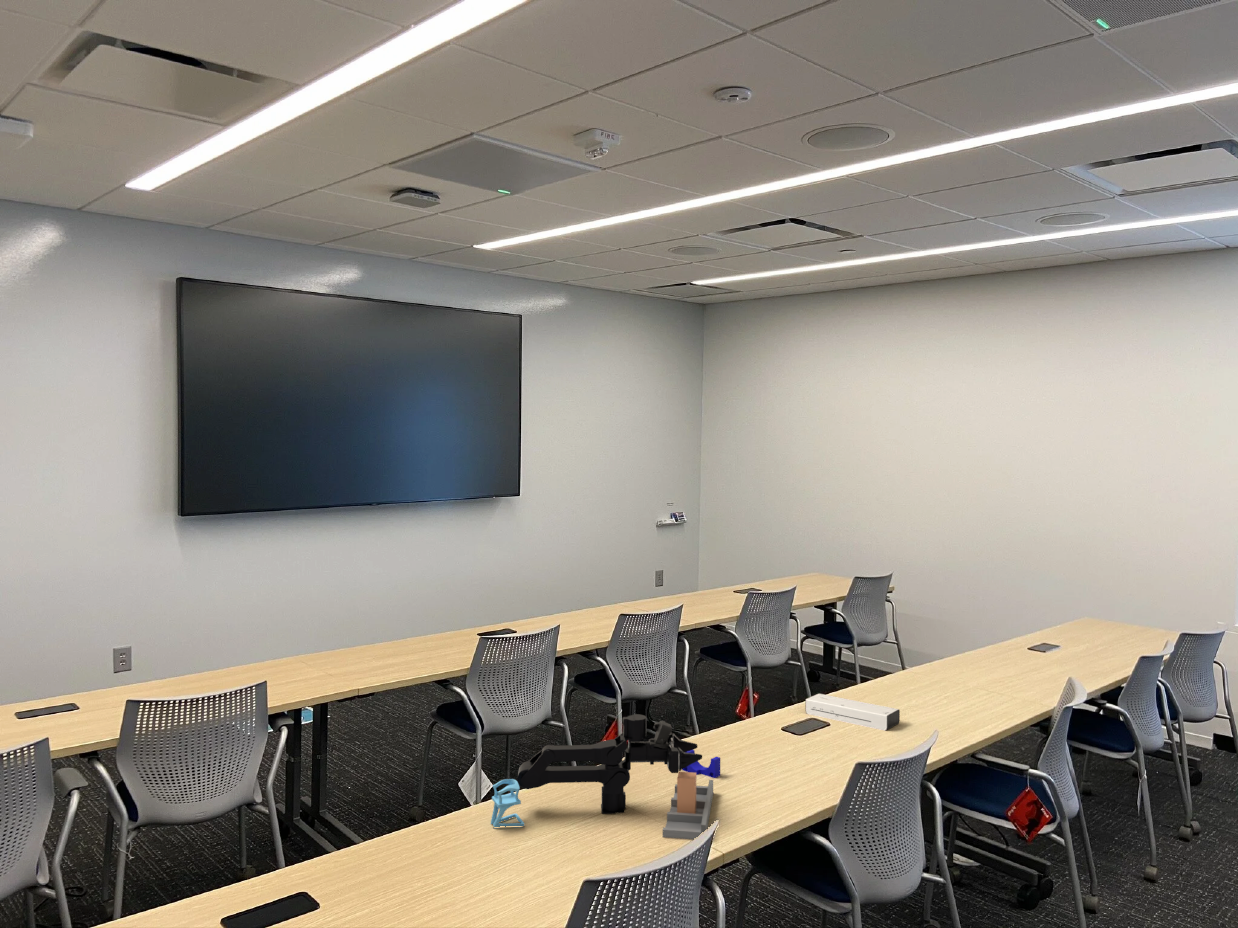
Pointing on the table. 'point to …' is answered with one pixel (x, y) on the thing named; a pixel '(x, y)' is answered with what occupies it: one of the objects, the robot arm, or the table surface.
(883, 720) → the laminator
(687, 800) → the terracotta block
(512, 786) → the chair
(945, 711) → the table surface
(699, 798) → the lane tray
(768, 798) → the table surface
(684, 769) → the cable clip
